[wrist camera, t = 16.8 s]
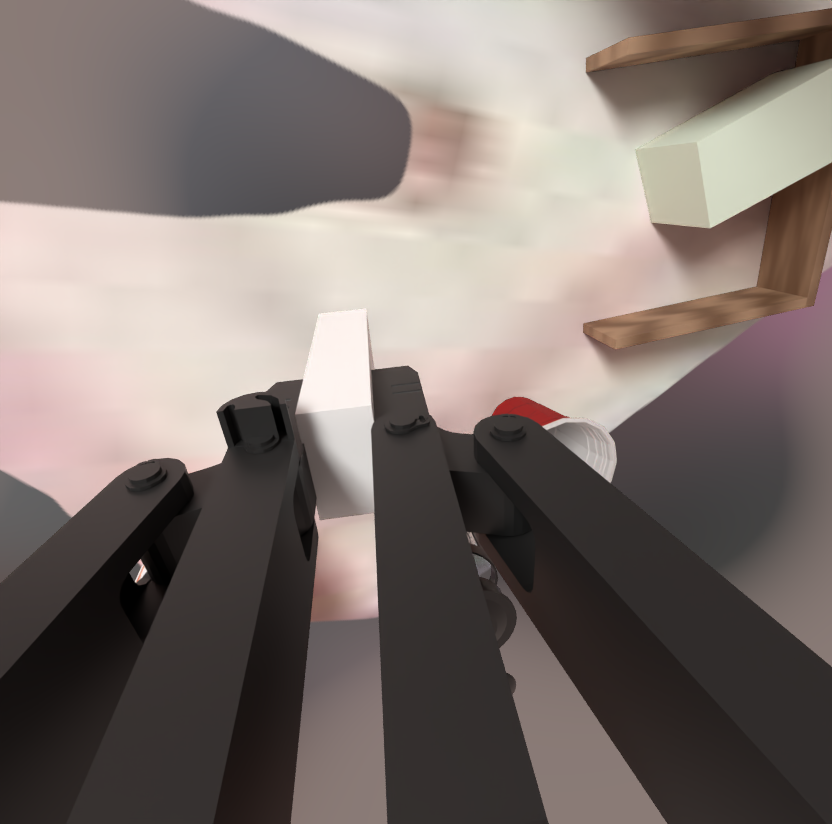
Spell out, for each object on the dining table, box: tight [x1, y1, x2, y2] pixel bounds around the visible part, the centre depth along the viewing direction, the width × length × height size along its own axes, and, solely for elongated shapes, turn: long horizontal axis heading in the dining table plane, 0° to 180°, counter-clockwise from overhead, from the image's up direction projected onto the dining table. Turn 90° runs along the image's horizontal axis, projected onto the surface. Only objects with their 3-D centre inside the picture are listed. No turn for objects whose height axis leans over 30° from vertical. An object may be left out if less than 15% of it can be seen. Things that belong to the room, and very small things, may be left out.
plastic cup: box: [492, 397, 617, 483], centre depth 48 cm, size 11×11×12 cm
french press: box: [467, 532, 517, 695], centre depth 46 cm, size 12×9×23 cm
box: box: [583, 8, 832, 350], centre depth 43 cm, size 22×24×6 cm
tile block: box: [635, 59, 832, 228], centre depth 41 cm, size 14×7×8 cm, turn 117°
